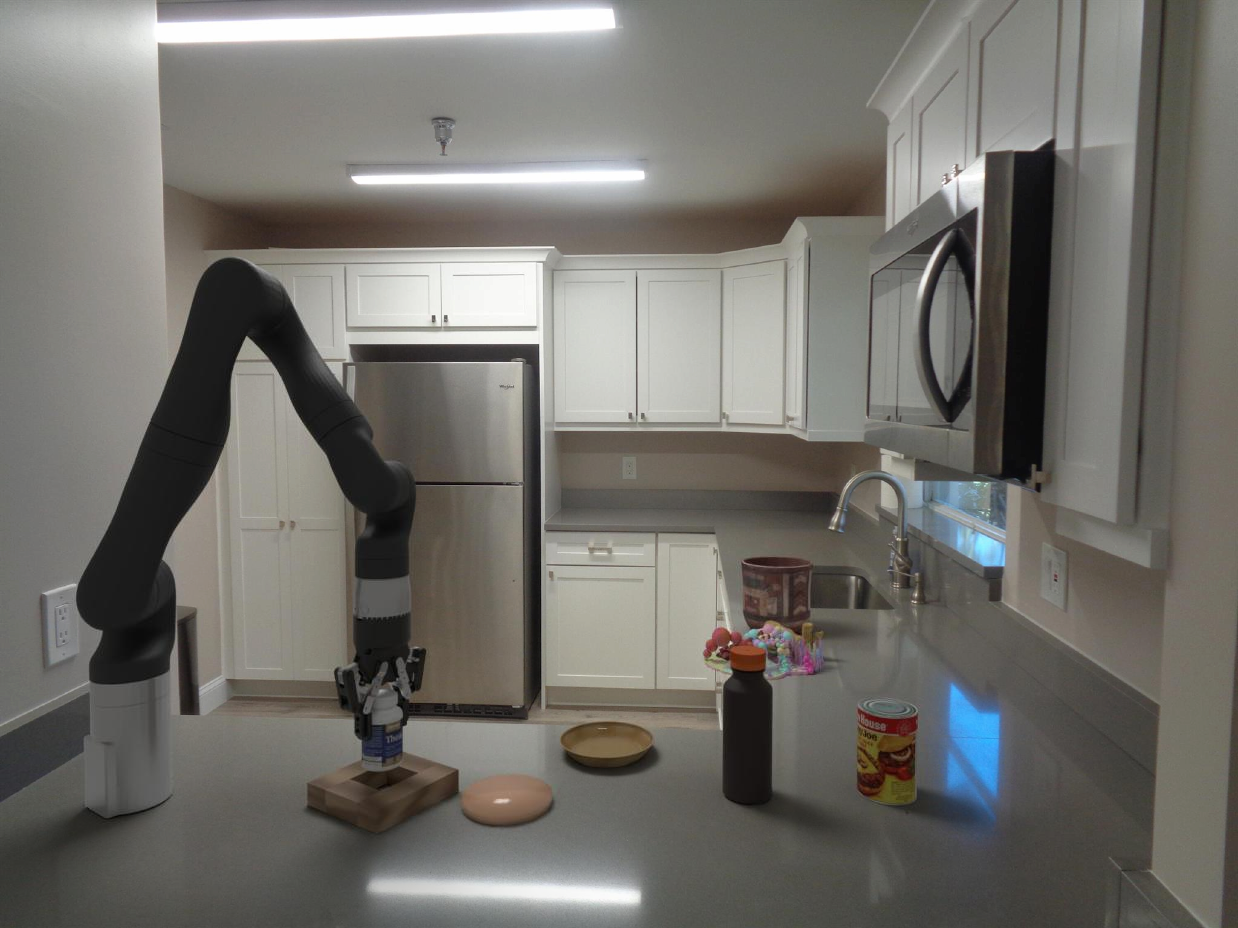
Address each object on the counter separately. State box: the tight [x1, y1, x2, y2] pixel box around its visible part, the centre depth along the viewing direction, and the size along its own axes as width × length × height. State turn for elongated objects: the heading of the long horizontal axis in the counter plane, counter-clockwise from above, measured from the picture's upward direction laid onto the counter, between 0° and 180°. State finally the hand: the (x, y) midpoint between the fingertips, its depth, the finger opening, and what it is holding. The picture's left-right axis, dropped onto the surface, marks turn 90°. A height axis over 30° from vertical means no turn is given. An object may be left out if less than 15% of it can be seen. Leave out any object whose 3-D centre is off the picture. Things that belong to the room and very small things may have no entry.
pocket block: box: [306, 751, 460, 835], centre depth 105 cm, size 14×14×3 cm
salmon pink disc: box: [461, 773, 553, 826], centre depth 103 cm, size 12×12×1 cm
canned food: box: [856, 696, 919, 807], centre depth 106 cm, size 8×8×12 cm
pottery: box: [740, 555, 814, 635], centre depth 194 cm, size 18×18×18 cm
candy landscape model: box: [702, 620, 825, 681], centre depth 168 cm, size 25×24×9 cm
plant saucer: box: [558, 720, 655, 769], centre depth 120 cm, size 15×15×3 cm
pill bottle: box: [360, 689, 404, 772], centre depth 105 cm, size 5×5×10 cm
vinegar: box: [721, 646, 774, 805], centre depth 106 cm, size 7×7×20 cm
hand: (382, 731), depth 105 cm, fingers closed on pill bottle, 5 cm apart
